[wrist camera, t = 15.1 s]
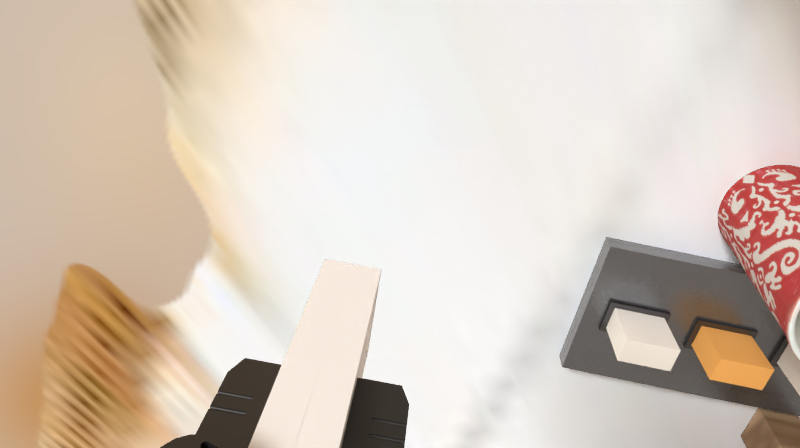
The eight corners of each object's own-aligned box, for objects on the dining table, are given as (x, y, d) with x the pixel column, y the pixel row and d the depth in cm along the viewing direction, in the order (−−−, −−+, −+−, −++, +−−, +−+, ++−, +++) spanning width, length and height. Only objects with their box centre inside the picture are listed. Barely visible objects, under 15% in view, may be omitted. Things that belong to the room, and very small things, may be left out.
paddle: (614, 307, 47) (626, 339, 44) (664, 317, 47) (680, 350, 44) (606, 327, 48) (617, 360, 45) (654, 337, 48) (670, 371, 45)
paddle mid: (701, 325, 47) (721, 358, 44) (751, 335, 47) (774, 369, 44) (691, 345, 48) (709, 379, 45) (740, 355, 48) (762, 390, 45)
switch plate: (606, 237, 47) (611, 248, 45) (883, 294, 47) (898, 307, 45) (559, 355, 52) (562, 369, 51) (807, 406, 52) (818, 421, 51)
